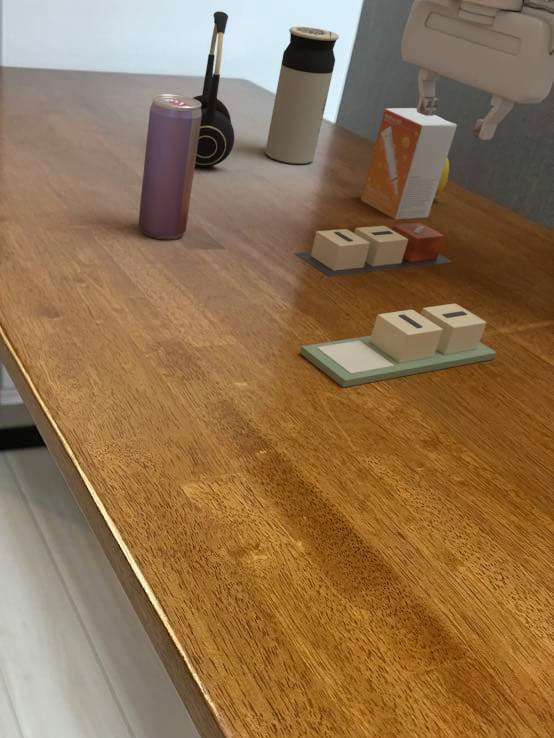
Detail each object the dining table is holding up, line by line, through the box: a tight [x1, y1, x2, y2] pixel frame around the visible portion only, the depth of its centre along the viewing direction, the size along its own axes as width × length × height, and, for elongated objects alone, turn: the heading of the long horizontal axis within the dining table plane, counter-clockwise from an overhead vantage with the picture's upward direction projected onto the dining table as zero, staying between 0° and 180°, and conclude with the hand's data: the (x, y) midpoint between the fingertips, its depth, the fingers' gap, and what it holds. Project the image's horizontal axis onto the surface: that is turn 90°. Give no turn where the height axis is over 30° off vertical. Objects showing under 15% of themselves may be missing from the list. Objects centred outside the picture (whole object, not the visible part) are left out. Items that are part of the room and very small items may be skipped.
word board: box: [299, 302, 497, 388], centre depth 85 cm, size 20×7×4 cm, turn 118°
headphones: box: [192, 10, 235, 168], centre depth 126 cm, size 9×15×20 cm, turn 0°
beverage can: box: [137, 93, 202, 241], centre depth 102 cm, size 6×6×15 cm
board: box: [293, 225, 454, 278], centre depth 105 cm, size 20×7×4 cm, turn 118°
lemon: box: [434, 157, 450, 199], centre depth 125 cm, size 6×6×8 cm
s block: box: [391, 222, 445, 262], centre depth 107 cm, size 5×5×3 cm
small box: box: [360, 107, 458, 220], centre depth 118 cm, size 8×6×13 cm
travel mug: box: [264, 26, 340, 165], centre depth 134 cm, size 8×8×18 cm
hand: (452, 125), depth 99 cm, fingers open, 8 cm apart
